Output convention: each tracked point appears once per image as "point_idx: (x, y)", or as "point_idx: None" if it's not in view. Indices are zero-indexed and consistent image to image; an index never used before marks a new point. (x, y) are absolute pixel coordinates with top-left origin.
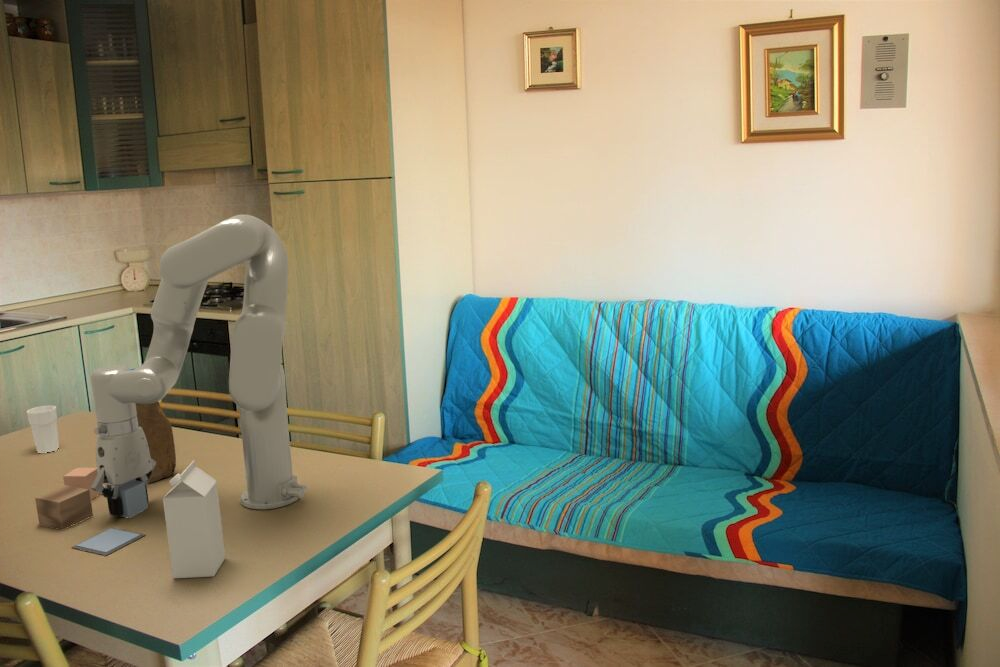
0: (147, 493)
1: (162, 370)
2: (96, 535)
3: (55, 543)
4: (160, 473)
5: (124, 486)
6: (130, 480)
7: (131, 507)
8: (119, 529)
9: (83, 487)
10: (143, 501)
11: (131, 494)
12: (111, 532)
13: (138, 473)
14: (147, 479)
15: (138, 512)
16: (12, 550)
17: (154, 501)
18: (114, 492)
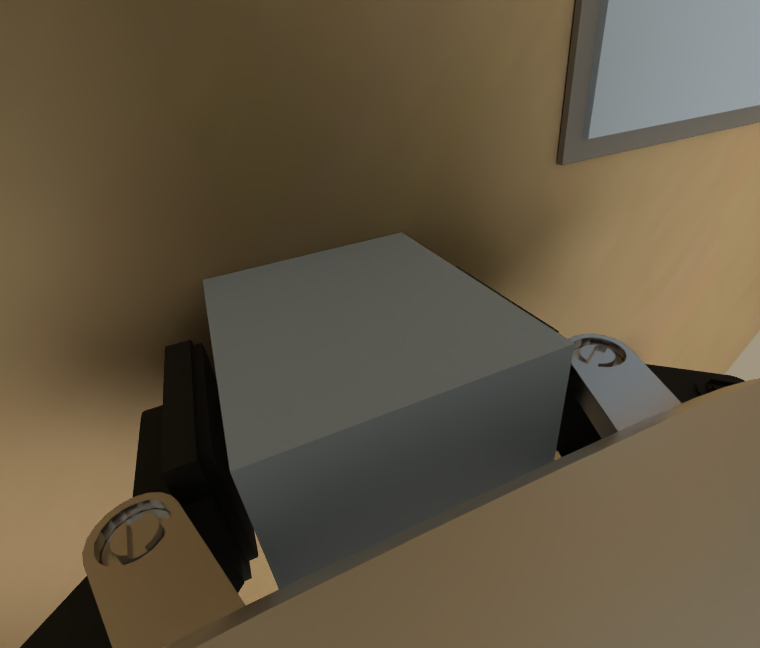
0: (140, 432)
1: None
2: (681, 119)
3: (717, 253)
4: None
5: (476, 478)
6: (585, 452)
7: (397, 267)
8: (580, 66)
9: None
10: (256, 305)
11: (444, 328)
12: (642, 58)
13: (463, 610)
14: (105, 574)
15: (310, 257)
16: (754, 328)
17: (73, 388)
18: (644, 373)
